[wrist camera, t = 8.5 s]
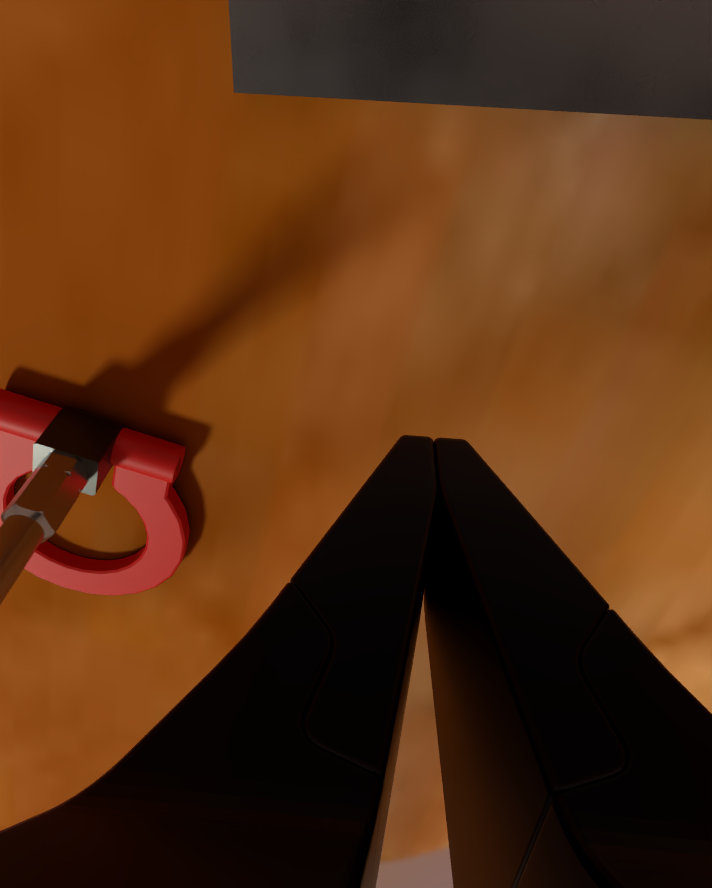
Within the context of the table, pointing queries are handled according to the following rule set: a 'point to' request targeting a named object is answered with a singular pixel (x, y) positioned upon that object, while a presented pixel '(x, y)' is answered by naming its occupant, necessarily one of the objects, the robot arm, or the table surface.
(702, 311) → the table surface
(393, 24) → the hinge
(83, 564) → the tow hook
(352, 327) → the table surface
